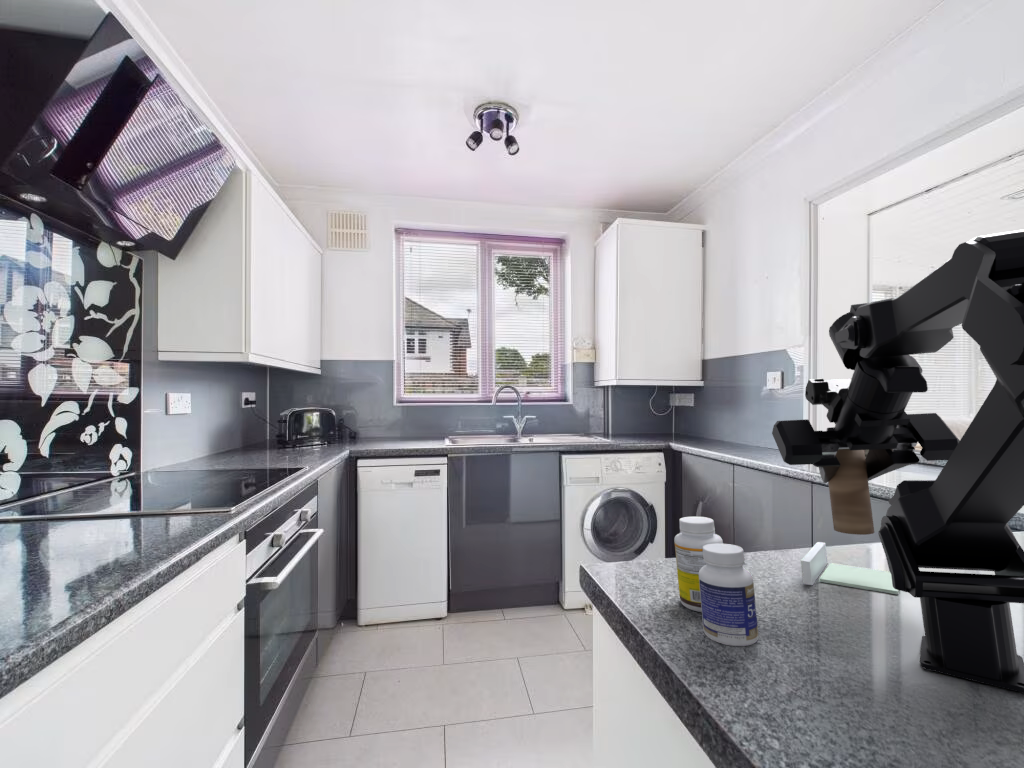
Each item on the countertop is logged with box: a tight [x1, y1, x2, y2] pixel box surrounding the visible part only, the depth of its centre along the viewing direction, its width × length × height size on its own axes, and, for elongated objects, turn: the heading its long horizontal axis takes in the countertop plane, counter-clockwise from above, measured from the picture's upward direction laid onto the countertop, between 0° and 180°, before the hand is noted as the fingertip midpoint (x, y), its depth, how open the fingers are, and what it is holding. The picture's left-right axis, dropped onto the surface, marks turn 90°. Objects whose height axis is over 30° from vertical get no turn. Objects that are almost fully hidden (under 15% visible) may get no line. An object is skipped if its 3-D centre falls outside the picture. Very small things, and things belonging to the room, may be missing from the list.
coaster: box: [819, 562, 900, 595], centre depth 61 cm, size 8×8×1 cm
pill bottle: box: [699, 543, 760, 647], centre depth 48 cm, size 5×5×9 cm
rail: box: [800, 541, 829, 586], centre depth 64 cm, size 11×1×3 cm, turn 137°
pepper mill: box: [827, 449, 875, 536], centre depth 62 cm, size 4×4×13 cm
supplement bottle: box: [673, 516, 724, 613], centre depth 56 cm, size 6×6×10 cm
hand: (842, 479), depth 63 cm, fingers closed on pepper mill, 4 cm apart
